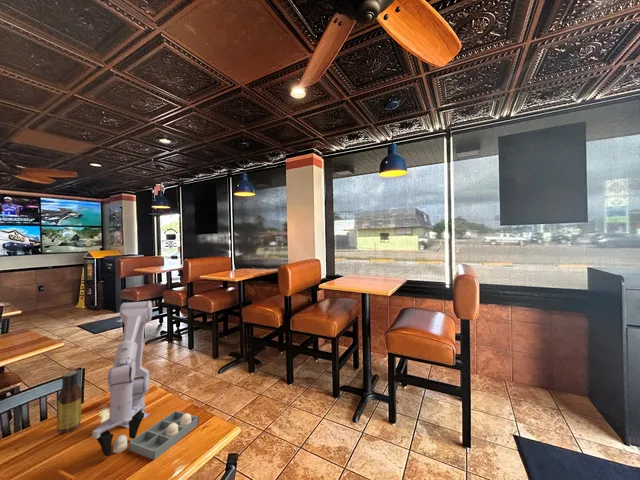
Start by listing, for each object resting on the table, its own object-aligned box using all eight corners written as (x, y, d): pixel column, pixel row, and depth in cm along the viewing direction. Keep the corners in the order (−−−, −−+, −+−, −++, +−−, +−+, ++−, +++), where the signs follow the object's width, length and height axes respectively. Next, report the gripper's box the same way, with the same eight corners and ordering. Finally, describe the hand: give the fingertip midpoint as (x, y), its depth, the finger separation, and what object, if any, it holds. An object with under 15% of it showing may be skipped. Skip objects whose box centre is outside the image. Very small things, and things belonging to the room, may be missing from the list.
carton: (128, 451, 81) (128, 442, 81) (175, 418, 97) (175, 410, 97) (154, 462, 77) (154, 451, 77) (198, 425, 93) (198, 417, 93)
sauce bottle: (63, 424, 94) (65, 369, 94) (84, 421, 96) (86, 367, 96) (51, 437, 87) (53, 378, 88) (73, 432, 89) (75, 375, 90)
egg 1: (110, 453, 80) (110, 438, 80) (122, 445, 84) (122, 430, 84) (117, 456, 79) (118, 441, 79) (129, 447, 82) (130, 433, 83)
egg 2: (163, 440, 85) (163, 426, 85) (172, 433, 88) (173, 419, 88) (171, 443, 84) (171, 428, 84) (180, 435, 87) (180, 421, 87)
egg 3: (177, 429, 90) (177, 416, 90) (186, 423, 93) (186, 410, 94) (185, 431, 89) (185, 418, 89) (193, 425, 92) (193, 412, 92)
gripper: (103, 419, 74) (102, 467, 73) (151, 393, 87) (150, 433, 87) (88, 414, 76) (87, 460, 76) (137, 389, 90) (136, 428, 89)
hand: (120, 445), depth 81 cm, fingers open, 7 cm apart
